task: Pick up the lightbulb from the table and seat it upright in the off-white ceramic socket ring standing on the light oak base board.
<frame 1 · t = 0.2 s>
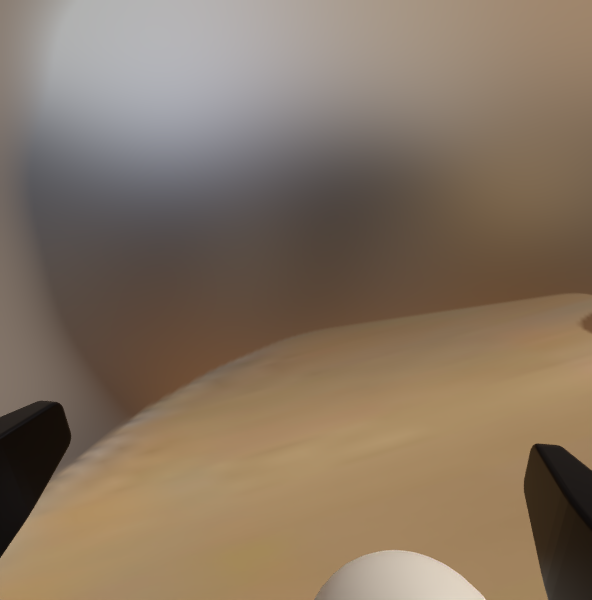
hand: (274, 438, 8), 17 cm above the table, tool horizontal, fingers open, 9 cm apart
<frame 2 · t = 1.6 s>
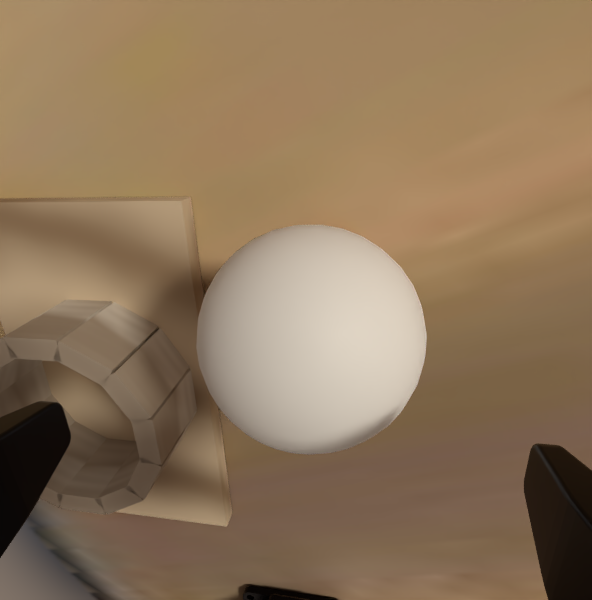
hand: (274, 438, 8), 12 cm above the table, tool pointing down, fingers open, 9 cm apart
lamp base: (119, 373, 24), on the table
lightbulb: (338, 251, 19), on the table
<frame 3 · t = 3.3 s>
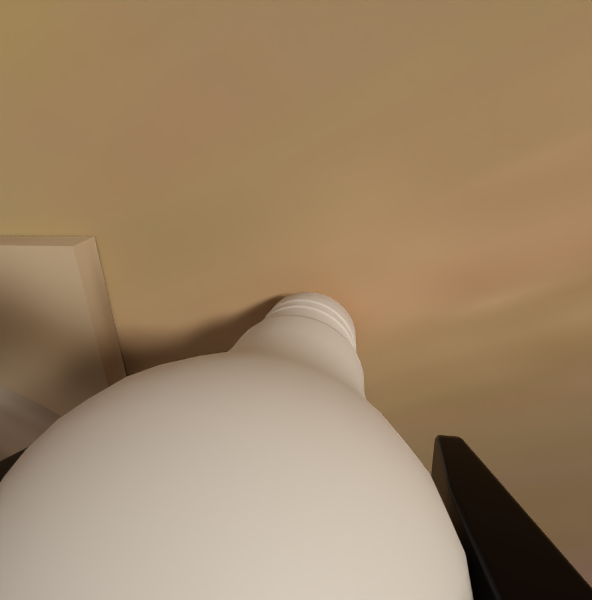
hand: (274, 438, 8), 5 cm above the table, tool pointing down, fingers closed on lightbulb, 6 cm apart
lamp base: (25, 464, 18), on the table
lightbulb: (315, 317, 13), on the table, touching gripper
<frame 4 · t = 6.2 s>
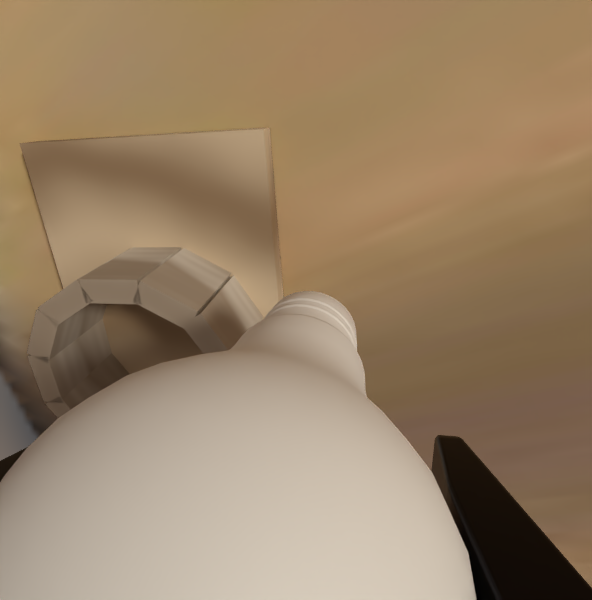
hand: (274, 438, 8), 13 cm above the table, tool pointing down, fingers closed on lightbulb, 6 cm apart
lamp base: (183, 329, 23), on the table
lightbulb: (315, 317, 13), point 7 cm above the table, touching gripper
when the fingers open (6 cm above the table, at t = 9.2 s): lightbulb stays where it is, resting on lamp base.
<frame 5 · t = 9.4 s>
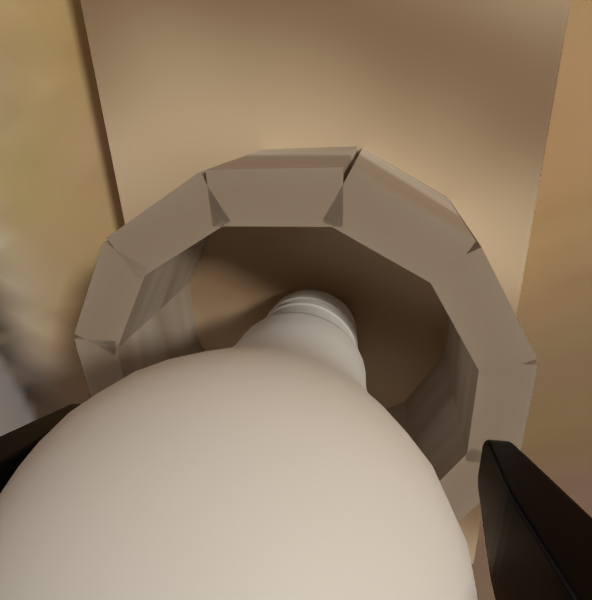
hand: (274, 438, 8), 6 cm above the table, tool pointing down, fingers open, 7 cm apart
lamp base: (318, 304, 14), on the table
lightbulb: (316, 315, 13), point 1 cm above the table, touching lamp base
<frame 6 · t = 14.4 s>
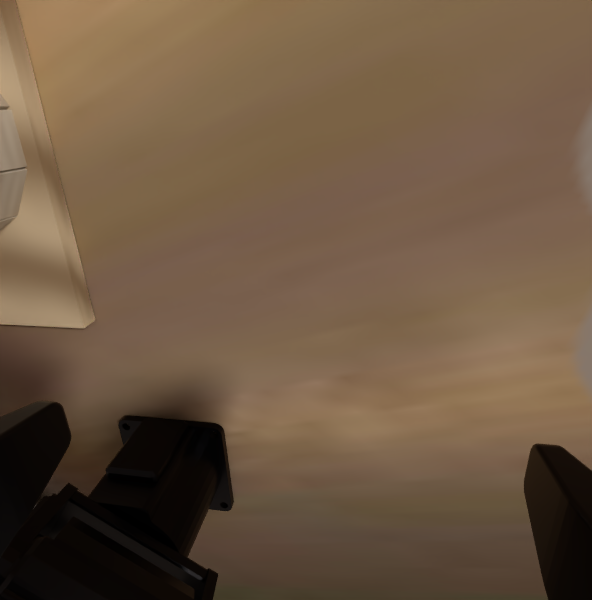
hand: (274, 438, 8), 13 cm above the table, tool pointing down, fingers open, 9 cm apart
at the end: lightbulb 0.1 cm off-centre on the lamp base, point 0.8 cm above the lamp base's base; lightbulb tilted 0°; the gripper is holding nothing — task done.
